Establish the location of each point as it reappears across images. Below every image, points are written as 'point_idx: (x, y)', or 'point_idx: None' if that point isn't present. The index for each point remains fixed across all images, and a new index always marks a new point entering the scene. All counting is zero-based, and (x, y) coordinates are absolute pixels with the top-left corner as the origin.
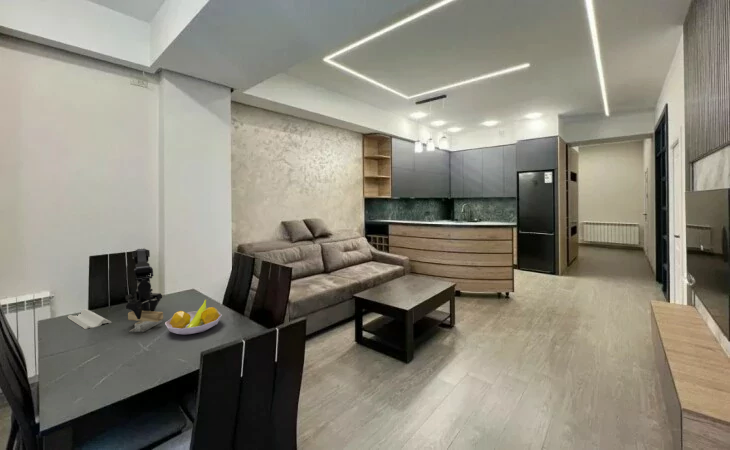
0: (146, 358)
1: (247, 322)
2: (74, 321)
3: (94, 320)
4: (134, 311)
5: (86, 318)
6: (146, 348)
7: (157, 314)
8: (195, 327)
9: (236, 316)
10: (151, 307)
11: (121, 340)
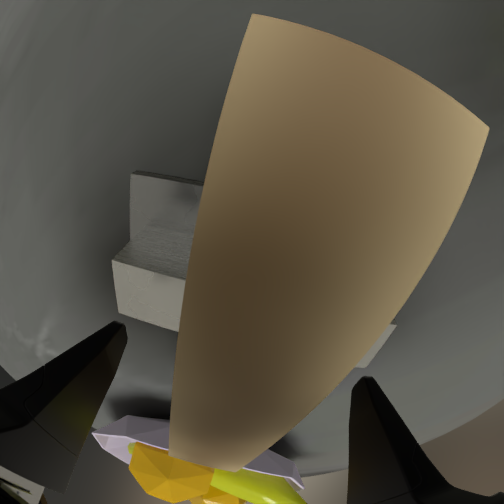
0: (21, 357)
1: None
2: None
3: None
4: (14, 399)
5: None
6: (40, 350)
7: (175, 456)
8: (128, 462)
9: (304, 475)
10: (378, 450)
11: (30, 222)
